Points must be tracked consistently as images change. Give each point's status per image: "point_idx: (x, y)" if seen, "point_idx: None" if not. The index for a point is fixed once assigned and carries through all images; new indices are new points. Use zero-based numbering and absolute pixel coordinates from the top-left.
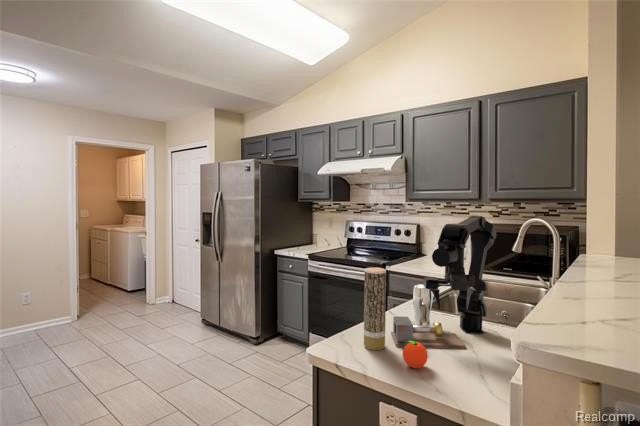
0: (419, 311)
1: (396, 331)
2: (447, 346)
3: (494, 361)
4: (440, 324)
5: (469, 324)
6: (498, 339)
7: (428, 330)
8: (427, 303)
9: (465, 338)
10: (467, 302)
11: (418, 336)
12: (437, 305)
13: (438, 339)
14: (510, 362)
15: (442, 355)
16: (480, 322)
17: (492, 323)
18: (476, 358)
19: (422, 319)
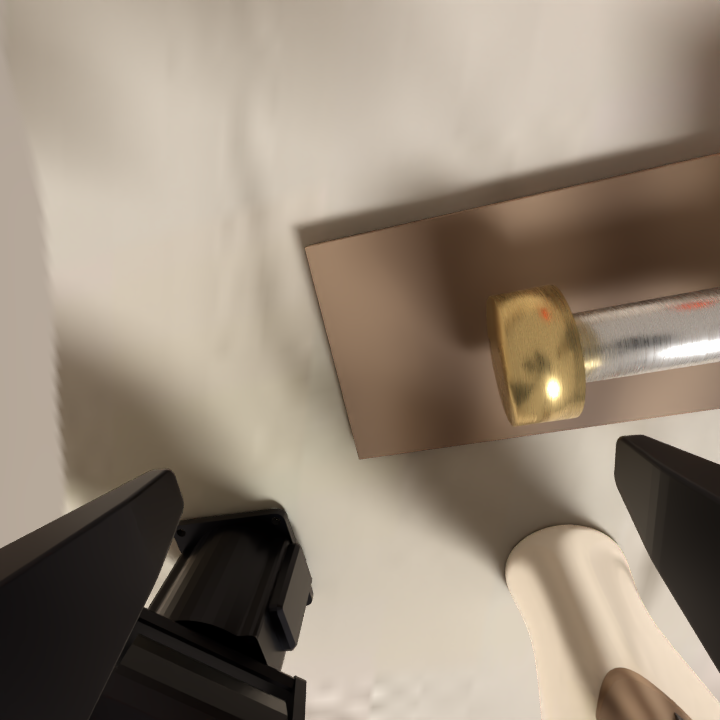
0: (663, 647)
1: None
2: (446, 215)
3: (120, 57)
4: (521, 358)
5: (245, 563)
6: (97, 452)
7: (632, 305)
8: None
9: (294, 424)
10: (111, 595)
11: None
12: (700, 473)
13: None
14: (17, 78)
15: (511, 42)
16: (167, 590)
17: None
18: (245, 72)
19: (599, 583)
